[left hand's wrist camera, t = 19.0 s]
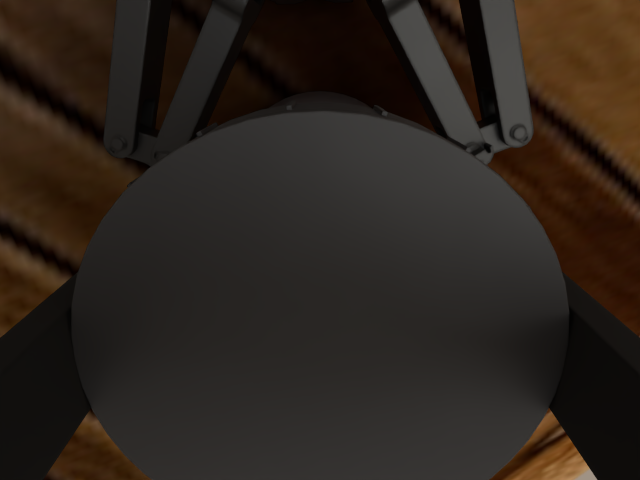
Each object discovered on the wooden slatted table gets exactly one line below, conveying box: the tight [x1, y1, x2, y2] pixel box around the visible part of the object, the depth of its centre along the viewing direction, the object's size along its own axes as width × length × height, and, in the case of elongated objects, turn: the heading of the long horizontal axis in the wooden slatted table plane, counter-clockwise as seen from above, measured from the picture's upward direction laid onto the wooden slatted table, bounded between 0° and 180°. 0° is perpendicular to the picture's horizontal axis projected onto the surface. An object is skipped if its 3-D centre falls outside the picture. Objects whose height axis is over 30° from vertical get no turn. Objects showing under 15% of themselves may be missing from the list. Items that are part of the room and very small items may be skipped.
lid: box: [71, 100, 569, 480], centre depth 11 cm, size 11×11×2 cm
